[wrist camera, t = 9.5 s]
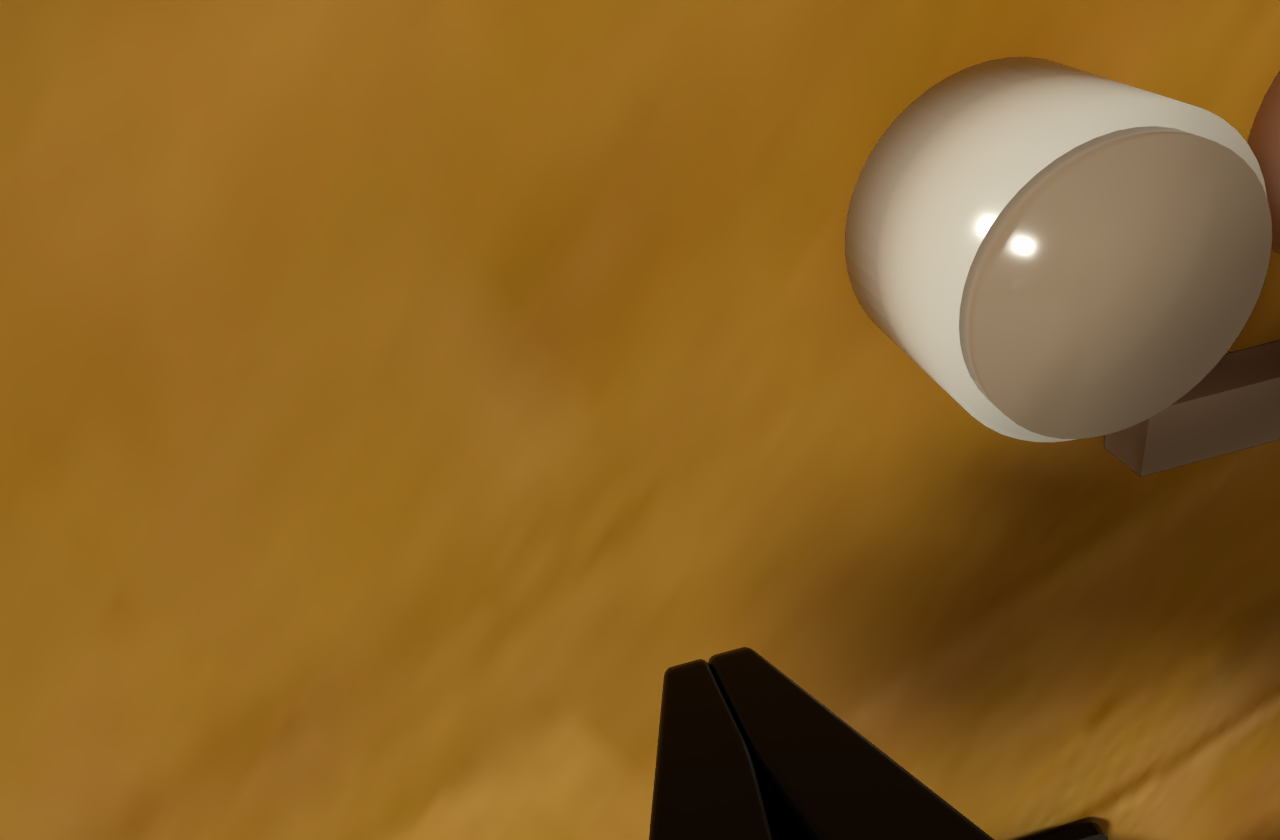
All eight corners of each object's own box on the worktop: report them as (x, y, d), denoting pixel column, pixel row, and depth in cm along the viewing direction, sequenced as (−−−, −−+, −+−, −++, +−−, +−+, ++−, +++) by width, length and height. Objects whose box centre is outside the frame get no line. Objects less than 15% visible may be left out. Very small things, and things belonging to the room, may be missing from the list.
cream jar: (1111, 310, 20) (1263, 405, 17) (853, 383, 19) (955, 497, 16) (1135, 22, 17) (1323, 66, 14) (831, 98, 16) (951, 163, 13)
